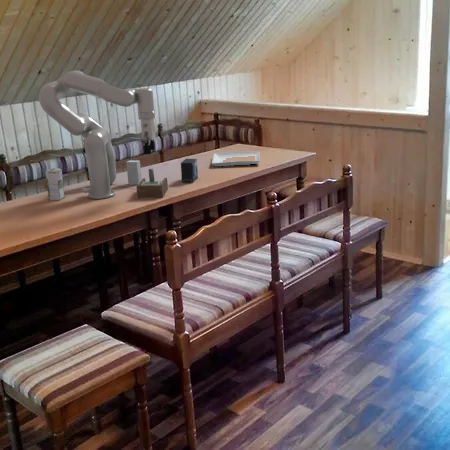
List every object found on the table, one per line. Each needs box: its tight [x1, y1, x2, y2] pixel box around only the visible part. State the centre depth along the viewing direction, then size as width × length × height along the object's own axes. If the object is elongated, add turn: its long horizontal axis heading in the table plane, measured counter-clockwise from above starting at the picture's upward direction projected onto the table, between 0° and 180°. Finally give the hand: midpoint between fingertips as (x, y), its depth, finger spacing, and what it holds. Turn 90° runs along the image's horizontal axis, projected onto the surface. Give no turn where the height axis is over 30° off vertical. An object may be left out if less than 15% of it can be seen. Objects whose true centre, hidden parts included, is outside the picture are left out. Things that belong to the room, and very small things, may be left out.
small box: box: [180, 158, 199, 184], centre depth 323 cm, size 11×6×10 cm, turn 168°
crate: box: [141, 168, 162, 186], centre depth 297 cm, size 8×8×11 cm
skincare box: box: [125, 159, 143, 186], centre depth 321 cm, size 6×4×12 cm
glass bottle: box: [105, 131, 117, 185], centre depth 321 cm, size 10×10×28 cm
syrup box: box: [44, 167, 65, 201], centre depth 299 cm, size 6×6×14 cm
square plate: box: [211, 150, 261, 167], centre depth 361 cm, size 27×27×4 cm
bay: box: [135, 177, 169, 199], centre depth 301 cm, size 16×12×6 cm
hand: (149, 151), depth 296 cm, fingers open, 9 cm apart
